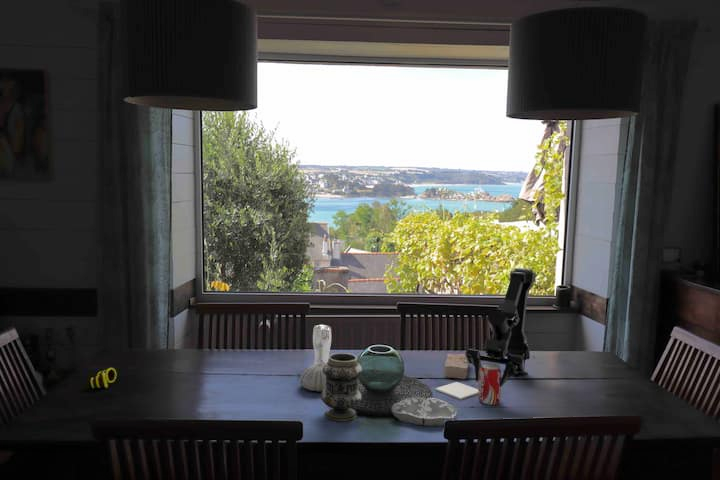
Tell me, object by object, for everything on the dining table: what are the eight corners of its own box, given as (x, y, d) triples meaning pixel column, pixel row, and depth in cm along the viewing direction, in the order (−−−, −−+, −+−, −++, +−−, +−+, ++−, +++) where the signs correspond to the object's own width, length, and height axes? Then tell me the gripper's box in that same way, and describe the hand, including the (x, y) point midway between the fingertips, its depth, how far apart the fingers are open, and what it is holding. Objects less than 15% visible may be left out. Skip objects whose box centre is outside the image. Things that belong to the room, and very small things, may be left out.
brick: (467, 379, 207) (467, 367, 207) (443, 377, 209) (444, 364, 209) (468, 366, 224) (469, 354, 223) (447, 364, 225) (447, 352, 225)
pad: (456, 383, 202) (456, 381, 202) (481, 392, 194) (481, 390, 194) (435, 390, 195) (435, 388, 195) (460, 399, 187) (460, 398, 187)
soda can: (496, 407, 181) (497, 370, 180) (474, 402, 185) (476, 366, 183) (503, 401, 187) (505, 365, 186) (482, 396, 191) (484, 361, 189)
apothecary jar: (362, 423, 167) (364, 362, 165) (321, 423, 166) (322, 362, 164) (359, 407, 179) (360, 350, 177) (320, 407, 178) (321, 350, 176)
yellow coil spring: (102, 382, 198) (99, 368, 198) (118, 379, 198) (115, 365, 198) (91, 392, 188) (87, 377, 188) (107, 389, 189) (103, 374, 188)
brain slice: (456, 408, 180) (457, 399, 180) (456, 431, 164) (457, 421, 163) (394, 403, 183) (394, 394, 183) (388, 425, 167) (388, 415, 166)
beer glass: (334, 365, 219) (335, 326, 218) (323, 370, 213) (324, 330, 212) (319, 362, 223) (320, 324, 222) (308, 366, 217) (309, 327, 216)
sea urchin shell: (309, 378, 204) (309, 356, 203) (345, 384, 200) (345, 361, 199) (293, 391, 192) (293, 367, 191) (330, 397, 187) (331, 373, 186)
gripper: (468, 324, 191) (455, 365, 183) (524, 332, 182) (514, 376, 174) (474, 342, 199) (462, 382, 191) (529, 351, 190) (519, 393, 182)
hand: (488, 383), depth 184 cm, fingers open, 8 cm apart
